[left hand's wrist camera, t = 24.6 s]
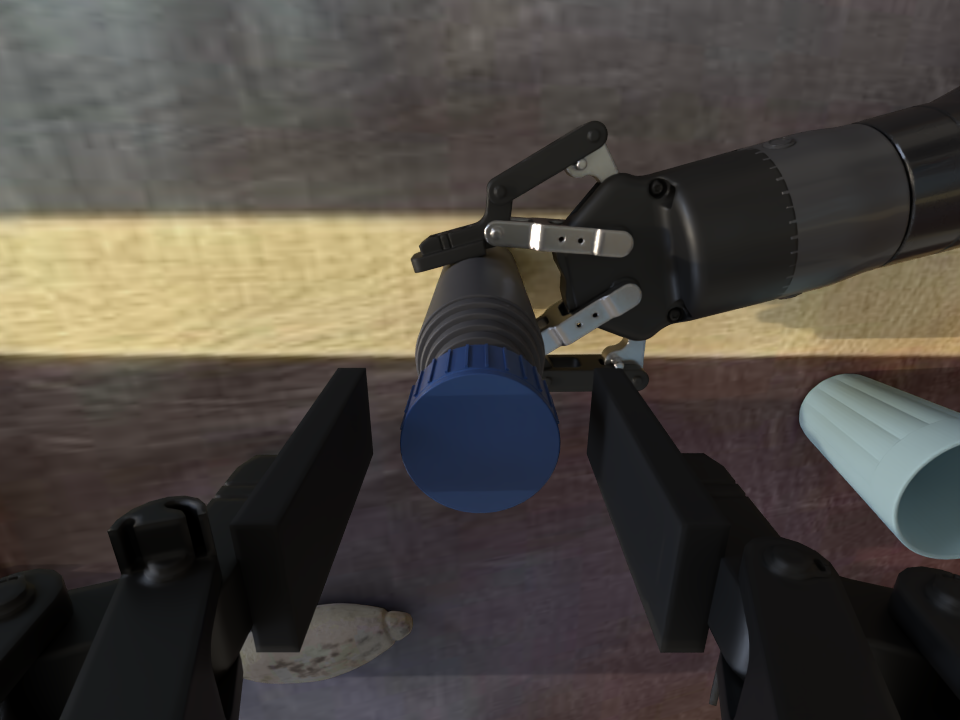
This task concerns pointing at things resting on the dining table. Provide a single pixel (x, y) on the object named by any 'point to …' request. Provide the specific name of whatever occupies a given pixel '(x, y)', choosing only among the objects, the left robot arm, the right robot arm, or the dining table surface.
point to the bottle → (481, 311)
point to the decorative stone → (329, 644)
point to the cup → (892, 457)
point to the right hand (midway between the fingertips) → (431, 311)
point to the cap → (480, 430)
